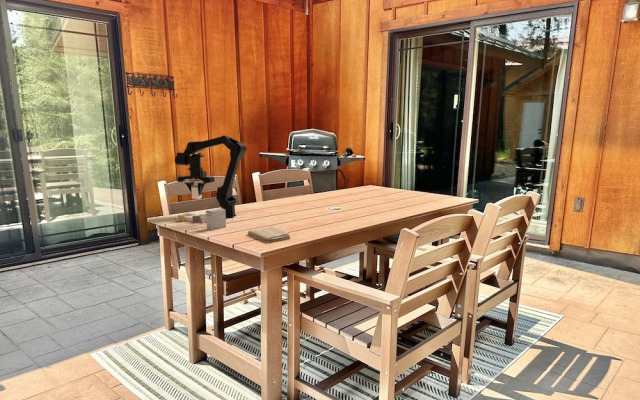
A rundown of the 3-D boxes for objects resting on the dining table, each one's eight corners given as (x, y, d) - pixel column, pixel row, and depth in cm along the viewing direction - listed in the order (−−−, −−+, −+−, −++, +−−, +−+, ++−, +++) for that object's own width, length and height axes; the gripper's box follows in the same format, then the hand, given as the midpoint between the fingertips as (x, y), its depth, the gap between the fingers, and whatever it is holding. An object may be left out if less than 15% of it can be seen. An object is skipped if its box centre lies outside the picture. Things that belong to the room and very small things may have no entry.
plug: (201, 197, 223) (200, 184, 221) (198, 199, 219) (197, 185, 218) (195, 197, 223) (194, 184, 222) (191, 198, 220) (191, 185, 219)
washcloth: (268, 244, 168) (268, 237, 168) (246, 235, 182) (246, 228, 182) (292, 239, 176) (292, 232, 175) (269, 231, 190) (269, 224, 189)
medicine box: (220, 225, 198) (219, 207, 197) (226, 227, 195) (225, 209, 194) (206, 228, 192) (205, 210, 191) (212, 230, 189) (211, 211, 188)
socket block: (213, 217, 216) (213, 211, 215) (202, 222, 204) (202, 216, 204) (187, 216, 219) (186, 210, 218) (174, 221, 208) (174, 215, 207)
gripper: (218, 164, 224) (219, 193, 227) (186, 164, 228) (188, 192, 231) (208, 166, 213) (210, 197, 216) (175, 166, 217) (177, 195, 220)
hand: (196, 195), depth 221 cm, fingers closed on plug, 4 cm apart
